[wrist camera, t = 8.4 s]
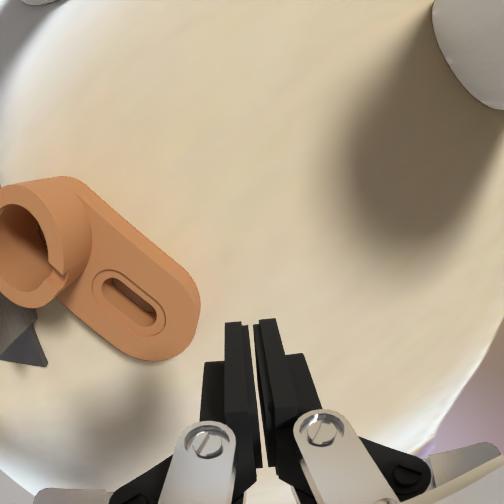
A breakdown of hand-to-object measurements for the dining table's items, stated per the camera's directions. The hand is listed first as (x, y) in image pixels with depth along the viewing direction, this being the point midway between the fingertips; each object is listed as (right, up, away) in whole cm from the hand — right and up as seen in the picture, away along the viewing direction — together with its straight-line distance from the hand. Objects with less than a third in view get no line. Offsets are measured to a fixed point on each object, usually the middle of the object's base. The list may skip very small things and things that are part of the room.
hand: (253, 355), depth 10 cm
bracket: (-12, +3, +13) cm, 18 cm away
